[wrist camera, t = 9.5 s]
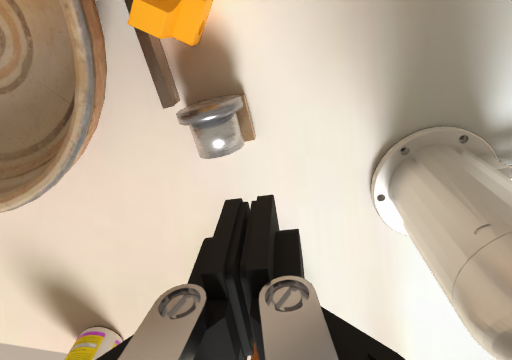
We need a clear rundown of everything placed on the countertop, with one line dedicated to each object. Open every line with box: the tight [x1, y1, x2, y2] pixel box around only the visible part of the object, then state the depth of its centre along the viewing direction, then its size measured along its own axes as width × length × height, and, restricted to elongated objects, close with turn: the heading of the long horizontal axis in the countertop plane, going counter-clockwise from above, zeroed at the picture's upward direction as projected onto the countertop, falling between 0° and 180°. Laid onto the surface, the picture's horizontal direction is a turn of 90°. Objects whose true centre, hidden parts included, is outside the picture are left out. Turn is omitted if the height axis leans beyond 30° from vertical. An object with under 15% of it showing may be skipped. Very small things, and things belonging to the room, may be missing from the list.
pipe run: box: [125, 0, 255, 159], centre depth 28 cm, size 8×26×6 cm, turn 14°
